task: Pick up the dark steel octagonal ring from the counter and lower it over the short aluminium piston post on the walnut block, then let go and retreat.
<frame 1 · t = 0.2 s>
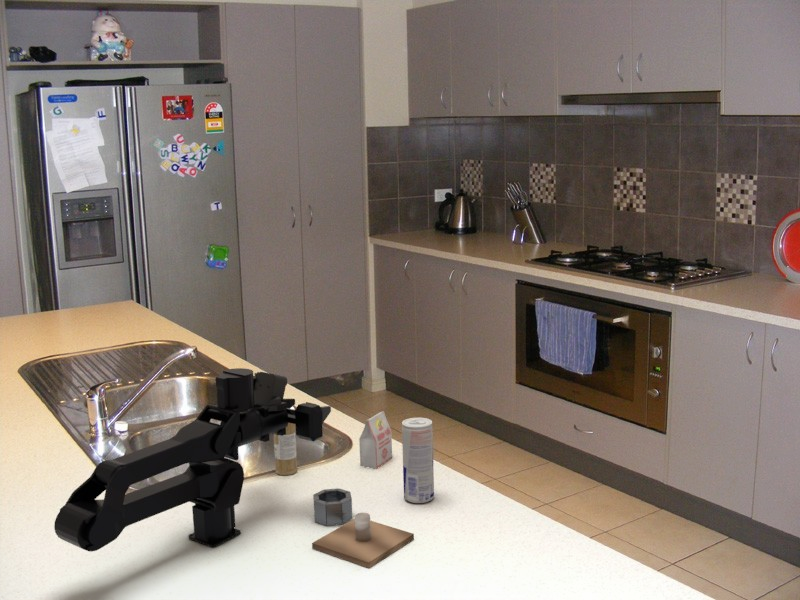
hand: (312, 405, 173), 17 cm above the countertop, tool horizontal, fingers open, 9 cm apart
sprinkles bottle: (286, 472, 184), on the countertop
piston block: (363, 543, 152), on the countertop
mini juice carton: (376, 463, 188), on the countertop
beverage can: (419, 499, 170), on the countertop
ring: (333, 517, 163), on the countertop
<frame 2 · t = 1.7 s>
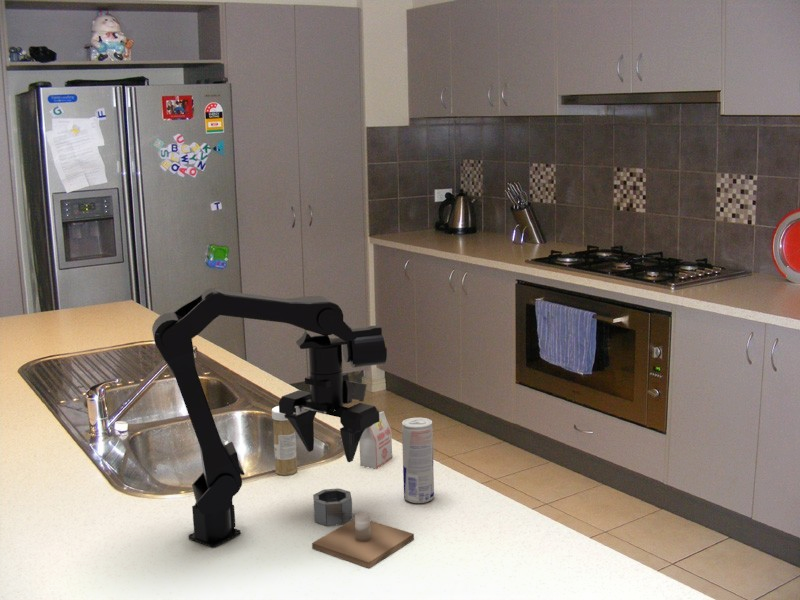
hand: (330, 456, 160), 11 cm above the countertop, tool pointing down, fingers open, 9 cm apart
nothing on the countertop moved.
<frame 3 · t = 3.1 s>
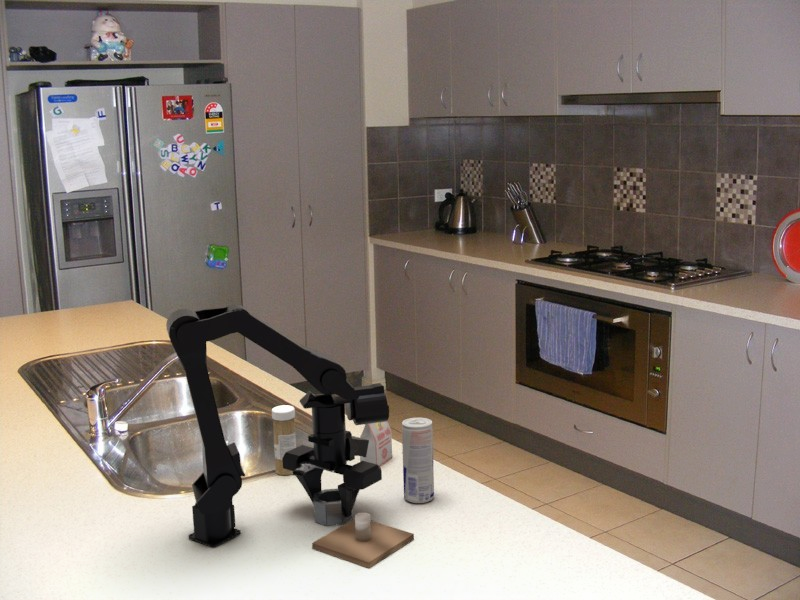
hand: (333, 511, 162), 1 cm above the countertop, tool pointing down, fingers closed on ring, 7 cm apart
ring: (333, 517, 163), on the countertop, touching gripper
everything else where it was.
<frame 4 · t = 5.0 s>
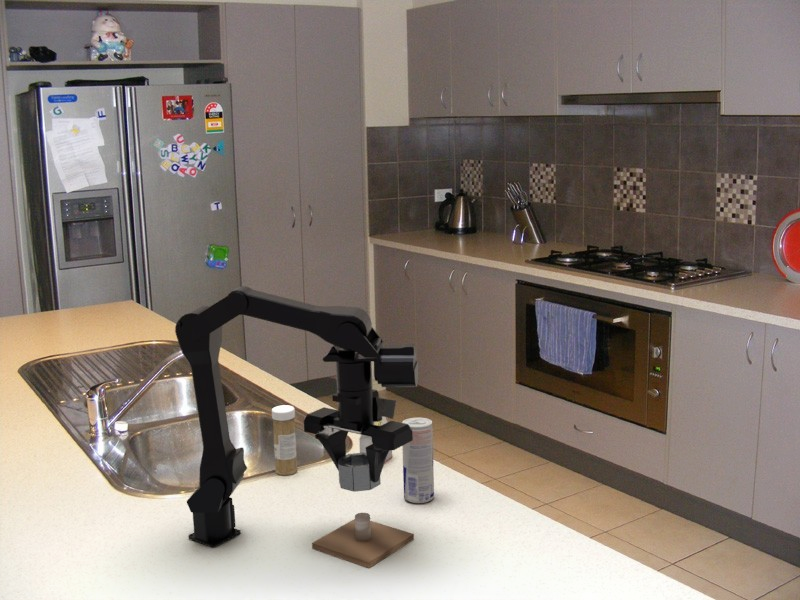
hand: (359, 477, 151), 11 cm above the countertop, tool pointing down, fingers closed on ring, 7 cm apart
ring: (359, 483, 151), point 10 cm above the countertop, touching gripper
everything else where it was.
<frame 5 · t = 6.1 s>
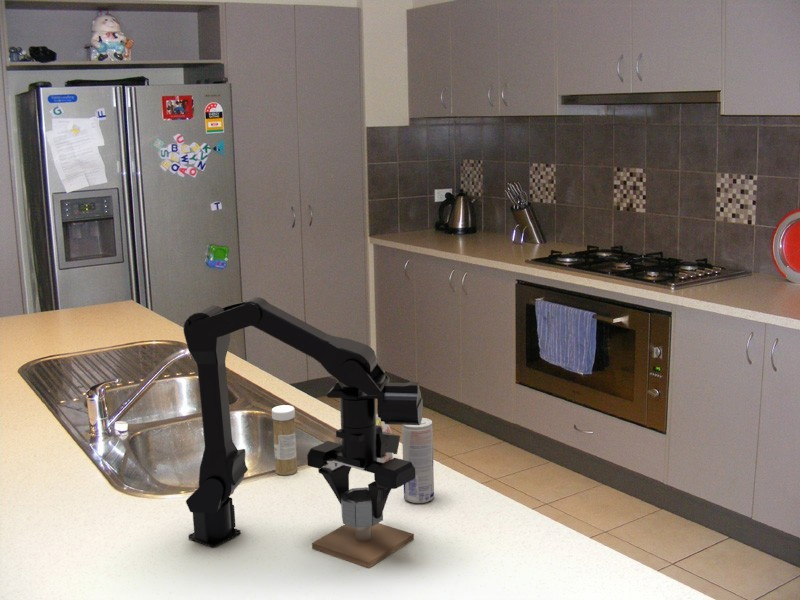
hand: (361, 512, 151), 6 cm above the countertop, tool pointing down, fingers closed on ring, 7 cm apart
ring: (362, 518, 151), point 5 cm above the countertop, touching gripper
everything else where it was.
when the fingers open (4 cm above the countertop, at t = 6.9 s): ring drops 2 cm, resting on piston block.
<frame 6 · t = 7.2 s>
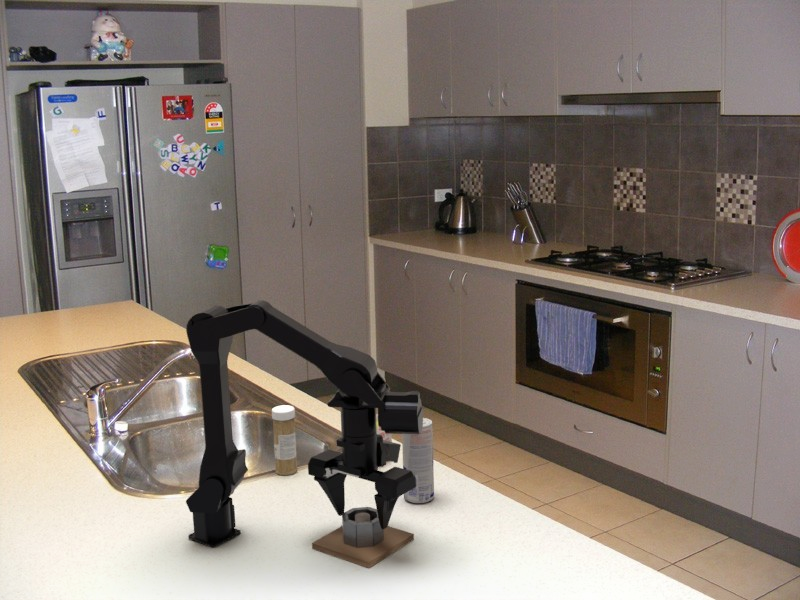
hand: (362, 521, 151), 4 cm above the countertop, tool pointing down, fingers open, 9 cm apart
ring: (363, 538, 152), point 1 cm above the countertop, touching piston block
everything else where it was.
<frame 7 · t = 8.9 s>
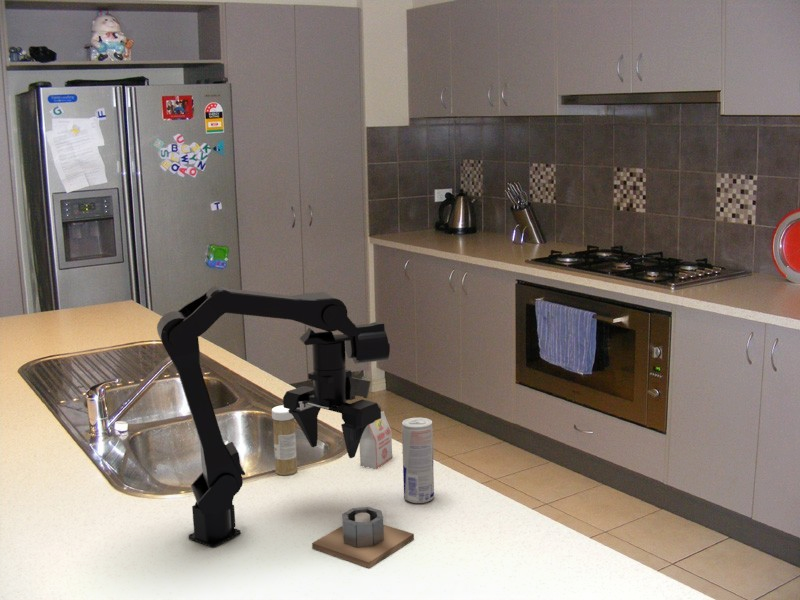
hand: (332, 451, 161), 12 cm above the countertop, tool pointing down, fingers open, 9 cm apart
nothing on the countertop moved.
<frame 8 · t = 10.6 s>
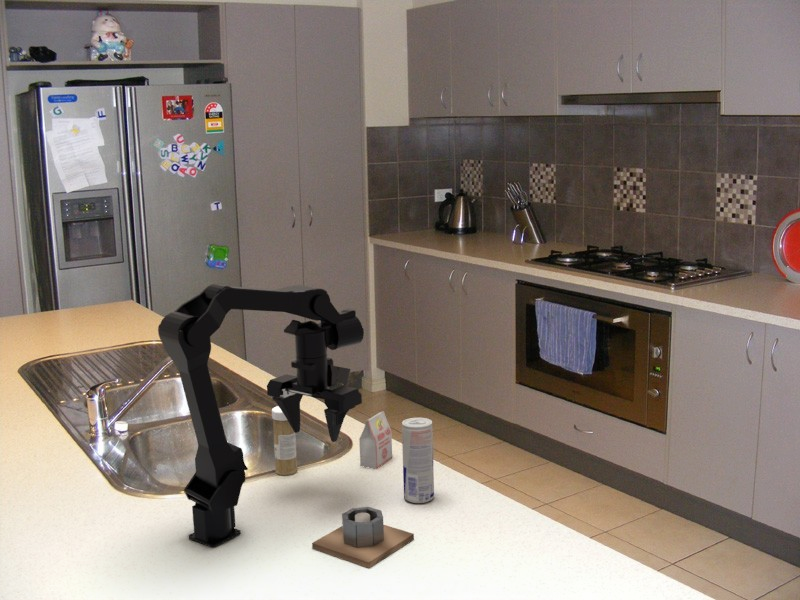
hand: (315, 436, 169), 12 cm above the countertop, tool pointing down, fingers open, 9 cm apart
nothing on the countertop moved.
at the end: ring 0.1 cm off-centre on the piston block, point 1.0 cm above the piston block's base; the gripper is holding nothing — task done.
